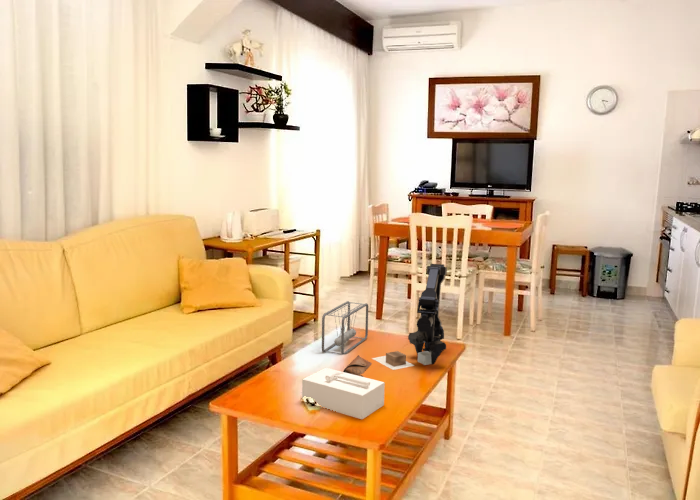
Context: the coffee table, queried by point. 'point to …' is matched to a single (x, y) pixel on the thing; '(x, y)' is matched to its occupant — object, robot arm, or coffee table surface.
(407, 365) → the plate
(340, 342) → the newton's cradle
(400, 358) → the base block
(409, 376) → the coffee table surface
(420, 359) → the top block
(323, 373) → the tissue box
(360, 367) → the sunglasses case
